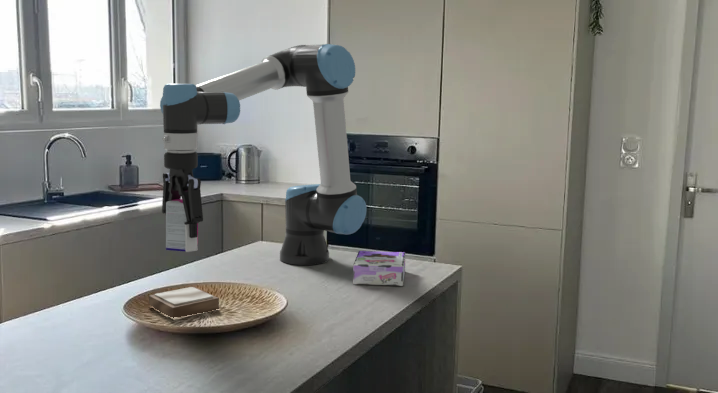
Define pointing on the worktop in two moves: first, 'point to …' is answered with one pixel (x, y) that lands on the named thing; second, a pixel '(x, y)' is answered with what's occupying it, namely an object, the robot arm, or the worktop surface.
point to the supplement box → (176, 226)
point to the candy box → (379, 268)
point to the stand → (184, 302)
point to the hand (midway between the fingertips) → (182, 247)
